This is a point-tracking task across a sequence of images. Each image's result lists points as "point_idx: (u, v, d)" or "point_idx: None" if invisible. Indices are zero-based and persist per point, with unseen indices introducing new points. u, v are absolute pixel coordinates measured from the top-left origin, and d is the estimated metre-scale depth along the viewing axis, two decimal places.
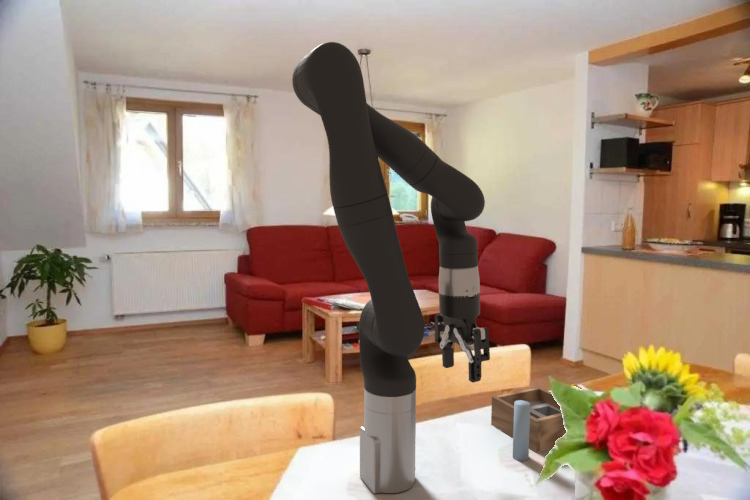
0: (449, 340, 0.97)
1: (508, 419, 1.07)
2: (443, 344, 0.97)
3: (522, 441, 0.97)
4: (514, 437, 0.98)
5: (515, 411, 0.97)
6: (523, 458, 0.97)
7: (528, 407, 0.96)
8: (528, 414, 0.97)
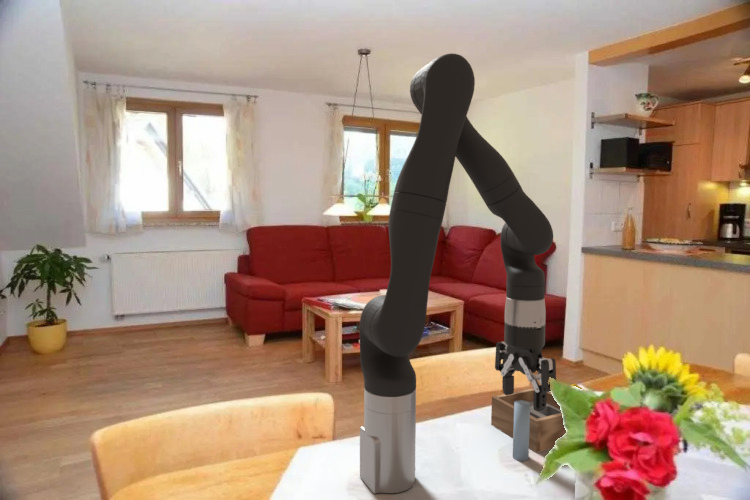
0: (511, 368, 0.99)
1: (508, 419, 1.07)
2: (505, 372, 1.00)
3: (522, 441, 0.97)
4: (514, 437, 0.98)
5: (515, 411, 0.97)
6: (523, 458, 0.97)
7: (528, 407, 0.96)
8: (528, 414, 0.97)
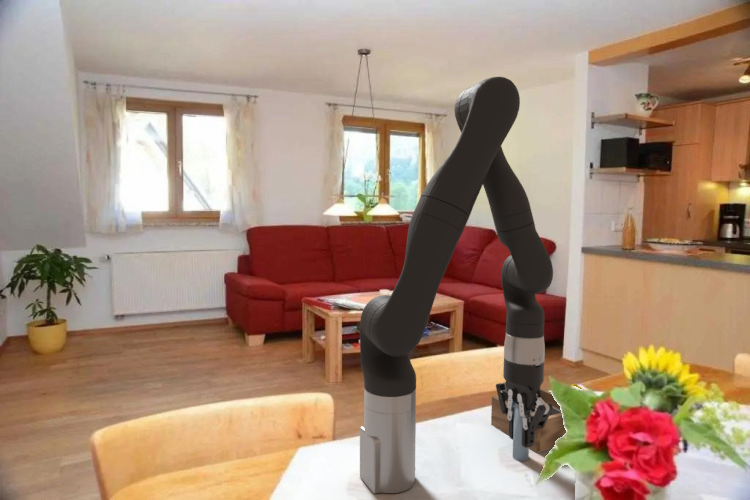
0: None
1: None
2: (511, 416, 0.99)
3: None
4: (514, 437, 0.98)
5: (515, 411, 0.97)
6: (523, 458, 0.97)
7: None
8: None
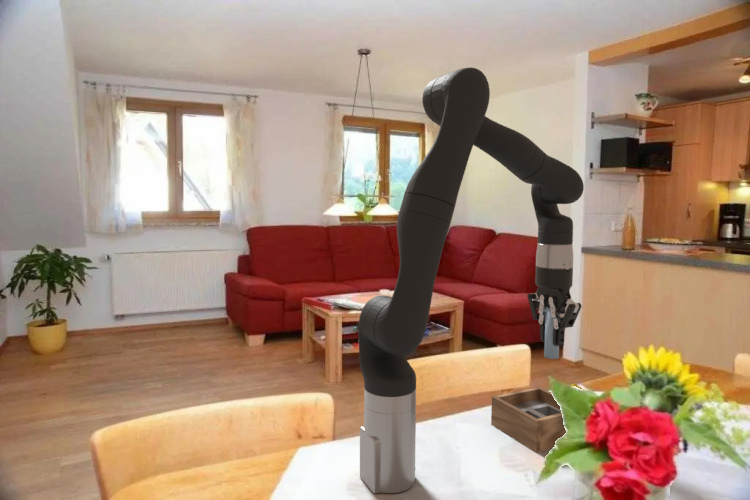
0: None
1: (508, 419, 1.07)
2: (543, 320, 1.09)
3: None
4: (546, 338, 1.08)
5: (546, 314, 1.08)
6: (554, 356, 1.08)
7: None
8: None
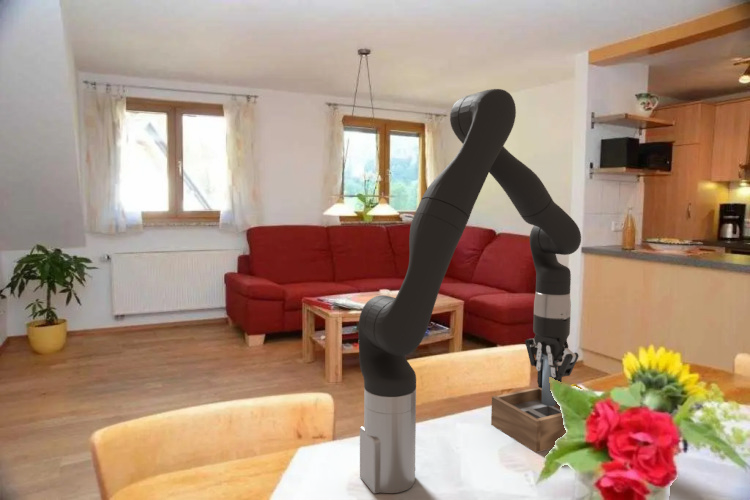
0: None
1: (508, 419, 1.07)
2: (540, 367, 1.10)
3: None
4: (543, 385, 1.10)
5: (544, 362, 1.09)
6: (551, 403, 1.09)
7: None
8: None
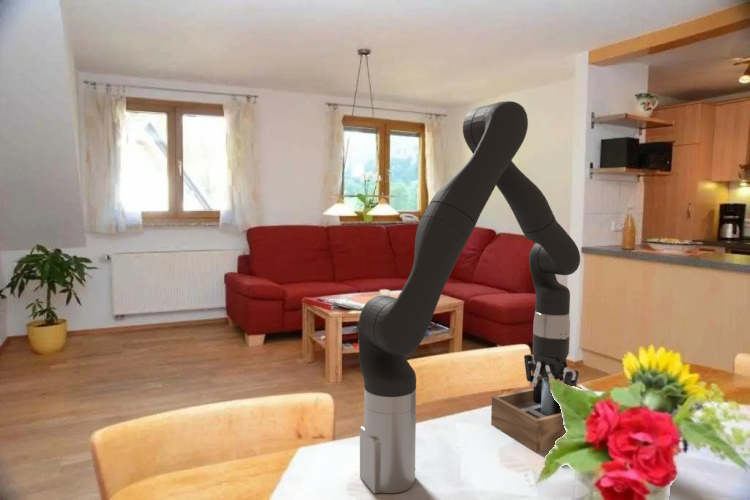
0: (541, 377, 1.11)
1: (508, 419, 1.07)
2: (536, 383, 1.12)
3: (549, 414, 1.09)
4: (542, 411, 1.10)
5: (543, 387, 1.10)
6: None
7: None
8: None
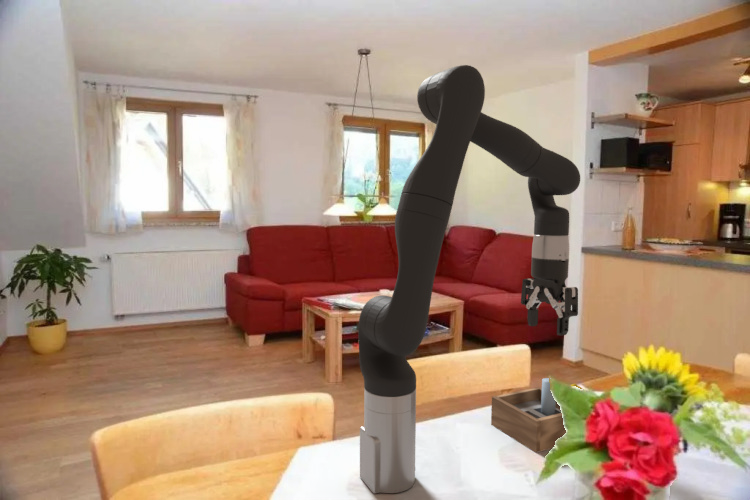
0: (536, 301, 1.11)
1: (508, 419, 1.07)
2: (530, 304, 1.11)
3: (549, 414, 1.09)
4: (542, 411, 1.10)
5: (543, 387, 1.10)
6: None
7: None
8: None
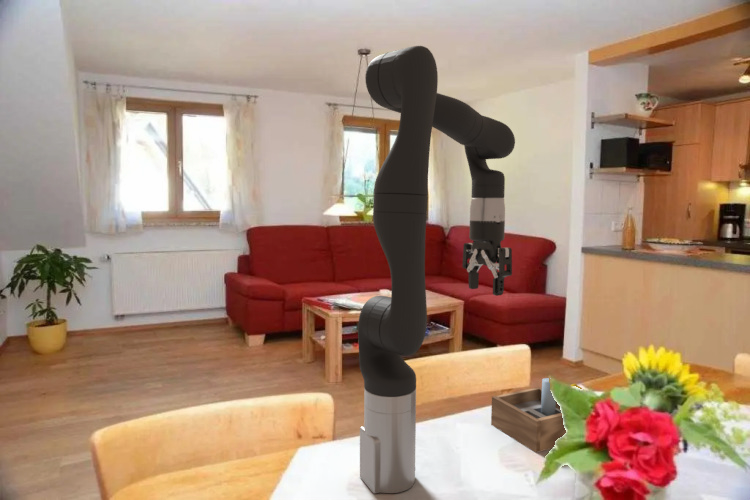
0: (476, 264, 1.13)
1: (508, 419, 1.07)
2: (470, 268, 1.14)
3: (549, 414, 1.09)
4: (542, 411, 1.10)
5: (543, 387, 1.10)
6: None
7: None
8: None
